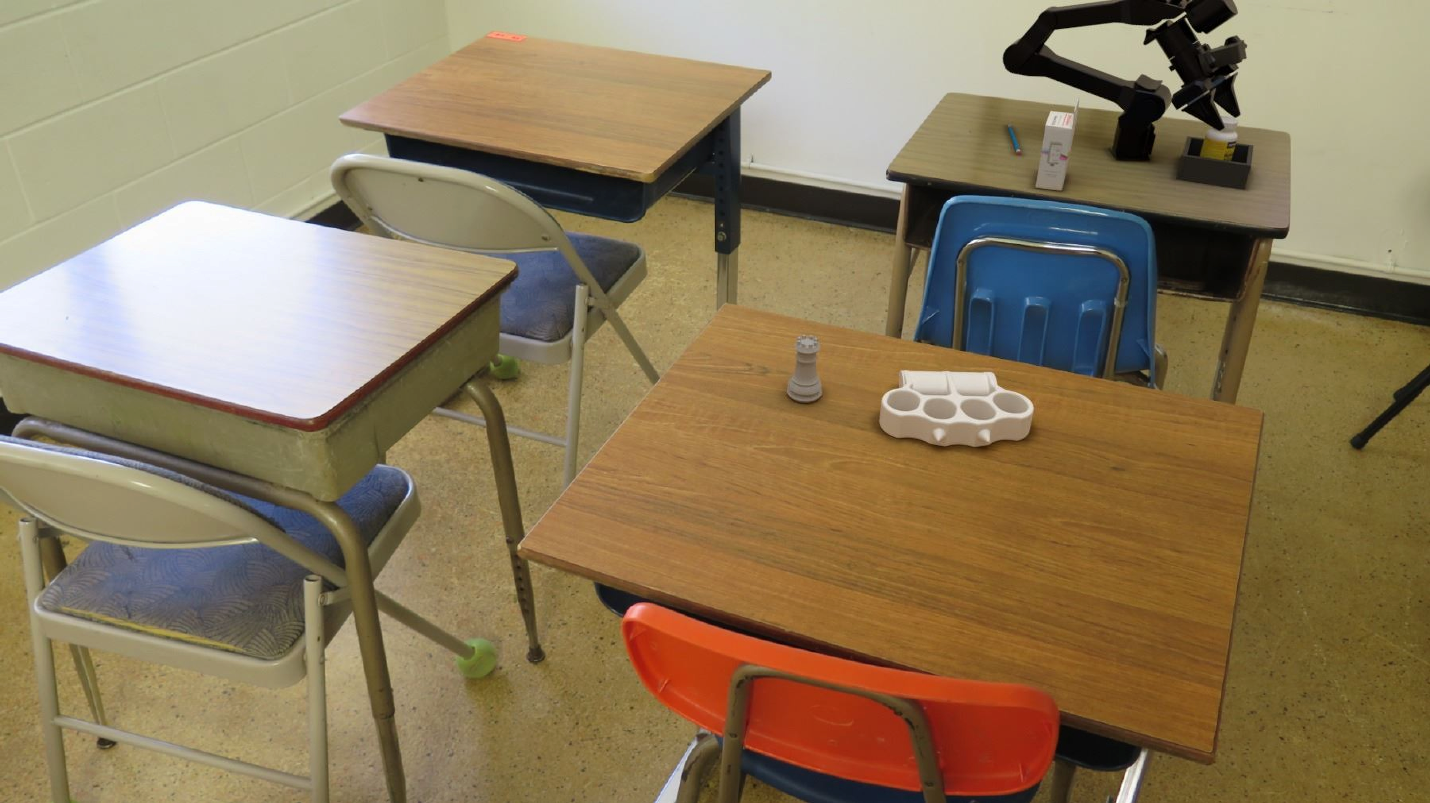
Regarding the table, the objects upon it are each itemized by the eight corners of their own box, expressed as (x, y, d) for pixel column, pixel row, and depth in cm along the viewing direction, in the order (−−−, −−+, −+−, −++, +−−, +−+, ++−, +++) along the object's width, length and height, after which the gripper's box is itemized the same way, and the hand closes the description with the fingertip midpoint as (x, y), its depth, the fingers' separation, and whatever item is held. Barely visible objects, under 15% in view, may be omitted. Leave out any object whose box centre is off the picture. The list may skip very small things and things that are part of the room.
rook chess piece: (784, 385, 135) (786, 331, 130) (818, 384, 135) (822, 330, 131) (789, 405, 131) (792, 349, 127) (824, 403, 131) (828, 348, 127)
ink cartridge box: (1038, 171, 197) (1052, 93, 189) (1066, 175, 195) (1081, 96, 187) (1033, 188, 190) (1048, 107, 182) (1062, 192, 189) (1077, 111, 181)
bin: (1176, 179, 194) (1182, 155, 192) (1181, 158, 203) (1187, 136, 200) (1244, 189, 190) (1251, 165, 188) (1246, 168, 199) (1253, 145, 196)
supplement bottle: (1222, 178, 193) (1237, 126, 188) (1192, 171, 196) (1205, 120, 191) (1231, 170, 197) (1246, 118, 191) (1201, 163, 199) (1215, 112, 194)
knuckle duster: (1013, 387, 135) (1039, 455, 122) (872, 384, 135) (884, 452, 123) (1018, 365, 133) (1044, 432, 120) (874, 362, 133) (886, 428, 121)
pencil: (1016, 155, 204) (1017, 152, 204) (1006, 126, 218) (1007, 123, 218) (1020, 155, 204) (1021, 152, 204) (1010, 126, 218) (1011, 123, 218)
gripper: (1207, 33, 178) (1256, 111, 178) (1241, 13, 190) (1287, 85, 191) (1150, 72, 187) (1197, 145, 187) (1186, 49, 199) (1230, 119, 199)
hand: (1230, 123), depth 191 cm, fingers open, 9 cm apart
